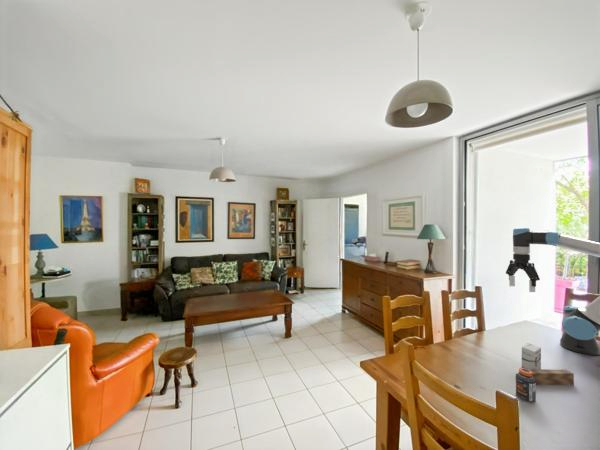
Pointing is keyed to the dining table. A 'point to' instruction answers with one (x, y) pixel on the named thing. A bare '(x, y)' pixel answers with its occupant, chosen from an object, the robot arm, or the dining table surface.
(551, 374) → the board
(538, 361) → the ink box
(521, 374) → the pill bottle
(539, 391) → the dining table surface
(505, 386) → the dining table surface
